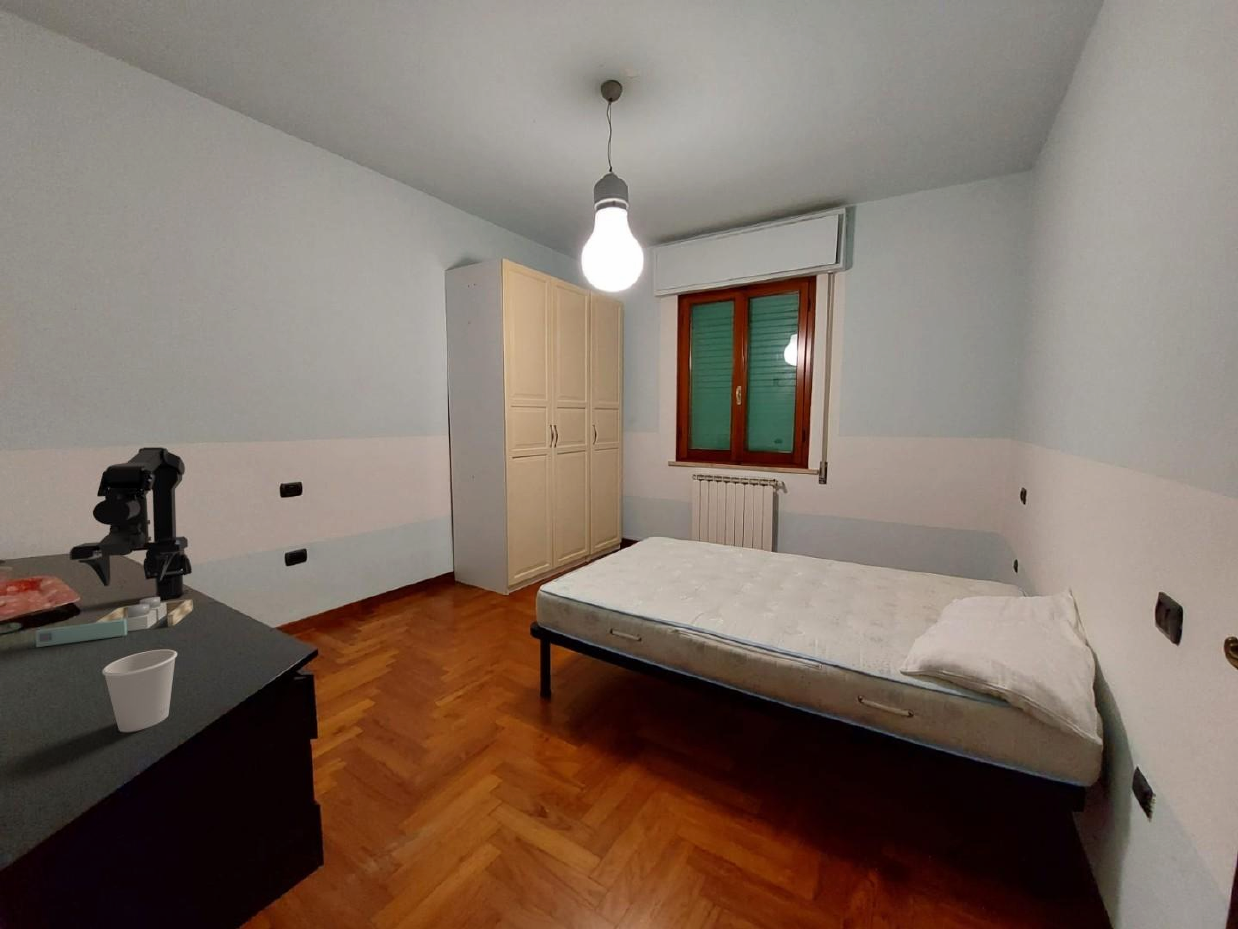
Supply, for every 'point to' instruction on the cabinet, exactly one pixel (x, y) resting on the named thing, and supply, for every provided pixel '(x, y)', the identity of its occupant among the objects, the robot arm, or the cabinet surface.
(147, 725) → the dixie cup
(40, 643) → the panel
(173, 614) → the housing
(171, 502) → the robot arm
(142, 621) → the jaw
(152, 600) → the jaw
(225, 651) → the cabinet surface
